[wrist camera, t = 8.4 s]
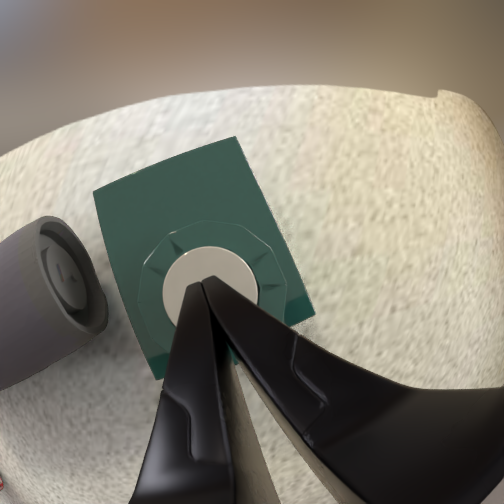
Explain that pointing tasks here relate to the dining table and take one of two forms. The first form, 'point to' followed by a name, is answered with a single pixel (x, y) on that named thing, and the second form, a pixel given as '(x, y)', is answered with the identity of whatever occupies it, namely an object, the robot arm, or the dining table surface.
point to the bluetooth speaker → (45, 298)
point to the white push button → (206, 275)
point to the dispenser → (193, 237)
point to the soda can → (1, 484)
